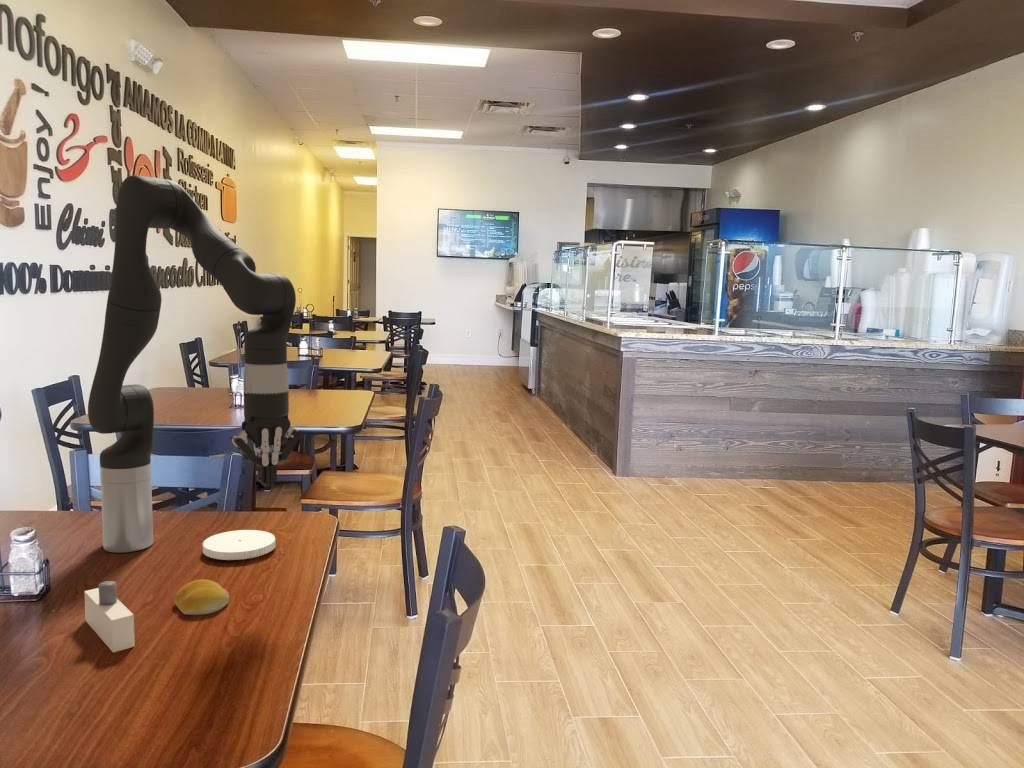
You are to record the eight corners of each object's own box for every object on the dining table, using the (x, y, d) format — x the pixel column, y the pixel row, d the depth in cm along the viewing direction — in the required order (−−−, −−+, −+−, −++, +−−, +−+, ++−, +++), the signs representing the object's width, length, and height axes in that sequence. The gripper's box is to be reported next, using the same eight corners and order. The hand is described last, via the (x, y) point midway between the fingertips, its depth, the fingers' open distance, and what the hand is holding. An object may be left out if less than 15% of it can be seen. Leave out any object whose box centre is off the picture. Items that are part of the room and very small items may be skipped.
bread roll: (187, 621, 124) (186, 598, 123) (169, 603, 130) (168, 581, 130) (237, 608, 129) (236, 586, 128) (218, 591, 136) (217, 570, 135)
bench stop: (85, 620, 122) (83, 573, 121) (105, 615, 124) (104, 568, 123) (113, 652, 112) (111, 600, 111) (134, 646, 114) (133, 595, 113)
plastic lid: (273, 538, 165) (273, 527, 164) (277, 560, 152) (277, 548, 151) (203, 544, 160) (203, 532, 159) (201, 568, 147) (201, 555, 146)
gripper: (290, 383, 140) (291, 475, 143) (220, 388, 131) (222, 486, 134) (311, 388, 135) (311, 483, 137) (238, 394, 126) (240, 495, 128)
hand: (267, 484), depth 135 cm, fingers closed
